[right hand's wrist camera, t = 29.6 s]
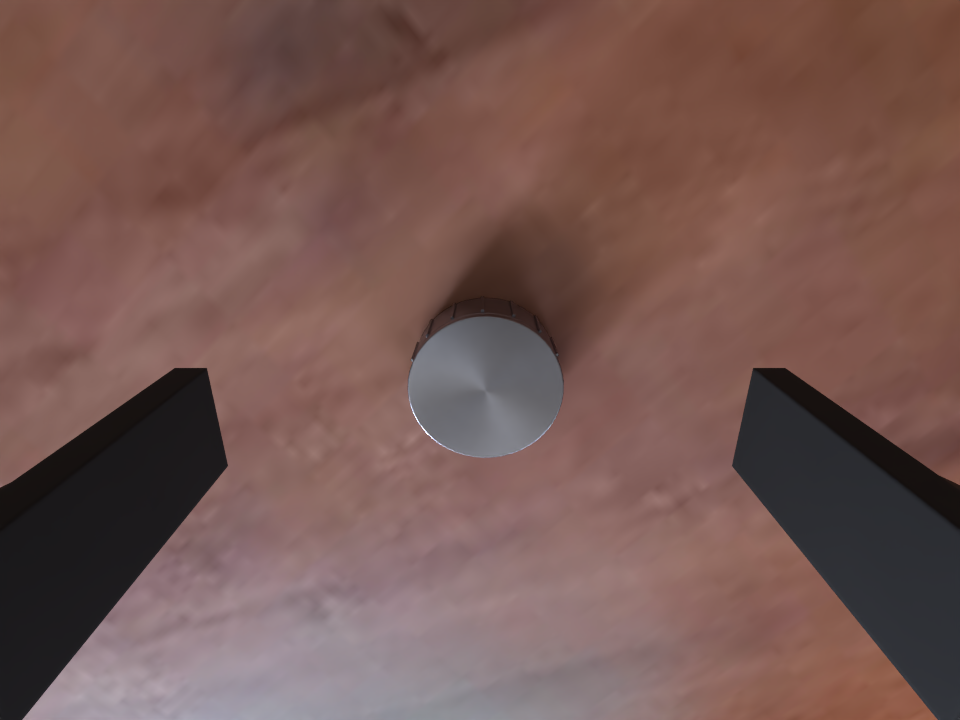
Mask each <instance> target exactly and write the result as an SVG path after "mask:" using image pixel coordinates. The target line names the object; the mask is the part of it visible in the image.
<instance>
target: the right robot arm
mask: <svg viewBox="0 0 960 720" xmlns="http://www.w3.org/2000/svg"><path fill="white" fill-rule="evenodd" d="M227 466H228V464H227V459H226V455H225V450H224V446H223V441H222V436H221V432H220V427H219V422H218V418H217V413H216V409H215V404H214V399H213V395H212V390H211V385H210V381H209V376H208V371H207V368H174V369H173V370H171V371H170V372H169V373H167V374H166V375H164V376H163V377H161V378H160V379H159V380H157V381H156V382H154V383H153V384H151V385H150V386H149V387H147V388H146V389H144V390H143V391H141V392H140V393H139V394H137V395H136V396H134V397H133V398H131V399H130V400H129V401H127V402H126V403H124V404H123V405H121V406H120V407H119V408H117V409H116V410H114V411H113V412H111V413H110V414H109V415H107V416H106V417H104V418H103V419H101V420H100V421H99V422H97V423H96V424H94V425H93V426H91V427H90V428H89V429H87V430H86V431H84V432H83V433H81V434H80V435H78V436H77V437H76V438H74V439H73V440H71V441H70V442H68V443H67V444H66V445H64V446H63V447H61V448H60V449H58V450H57V451H56V452H54V453H53V454H51V455H50V456H48V457H47V458H46V459H44V460H43V461H41V462H40V463H38V464H37V465H36V466H34V467H33V468H31V469H30V470H28V471H27V472H26V473H24V474H23V475H21V476H20V477H18V478H17V479H16V480H14V481H13V482H11V483H9V484H7V485H5V486H3V487H1V488H0V720H22V719H23V718H24V717H25V716H26V714H27V713H28V712H29V711H30V709H31V708H32V707H33V706H34V705H35V703H36V702H37V701H38V700H39V698H40V697H41V696H42V695H43V693H44V692H45V691H46V690H47V688H48V687H49V686H50V685H51V684H52V682H53V681H54V680H55V679H56V677H57V676H58V675H59V674H60V672H61V671H62V670H63V669H64V668H65V666H66V665H67V664H68V663H69V661H70V660H71V659H72V658H73V656H74V655H75V654H76V653H77V651H78V650H79V649H80V648H81V647H82V645H83V644H84V643H85V642H86V640H87V639H88V638H89V637H90V635H91V634H92V633H93V632H94V630H95V629H96V628H97V627H98V626H99V624H100V623H101V622H102V621H103V619H104V618H105V617H106V616H107V614H108V613H109V612H110V611H111V610H112V608H113V607H114V606H115V605H116V603H117V602H118V601H119V600H120V598H121V597H122V596H123V595H124V593H125V592H126V591H127V590H128V589H129V587H130V586H131V585H132V584H133V582H134V581H135V580H136V579H137V577H138V576H139V575H140V574H141V573H142V571H143V570H144V569H145V568H146V566H147V565H148V564H149V563H150V561H151V560H152V559H153V558H154V556H155V555H156V554H157V553H158V552H159V550H160V549H161V548H162V547H163V545H164V544H165V543H166V542H167V540H168V539H169V538H170V537H171V536H172V534H173V533H174V532H175V531H176V529H177V528H178V527H179V526H180V524H181V523H182V522H183V521H184V519H185V518H186V517H187V516H188V515H189V513H190V512H191V511H192V510H193V508H194V507H195V506H196V505H197V503H198V502H199V501H200V500H201V498H202V497H203V496H204V495H205V494H206V492H207V491H208V490H209V489H210V487H211V486H212V485H213V484H214V482H215V481H216V480H217V479H218V478H219V476H220V475H221V474H222V473H223V471H224V470H225V469H226V468H227ZM732 466H733V468H734V469H735V470H736V471H737V473H738V474H739V475H740V476H741V478H742V479H743V480H744V481H745V482H746V484H747V485H748V486H749V487H750V489H751V490H752V491H753V492H754V494H755V495H756V496H757V497H758V498H759V500H760V501H761V502H762V503H763V505H764V506H765V507H766V508H767V510H768V511H769V512H770V513H771V515H772V516H773V517H774V518H775V519H776V521H777V522H778V523H779V524H780V526H781V527H782V528H783V529H784V531H785V532H786V533H787V534H788V536H789V537H790V538H791V539H792V540H793V542H794V543H795V544H796V545H797V547H798V548H799V549H800V550H801V552H802V553H803V554H804V555H805V556H806V558H807V559H808V560H809V561H810V563H811V564H812V565H813V566H814V568H815V569H816V570H817V571H818V573H819V574H820V575H821V576H822V577H823V579H824V580H825V581H826V582H827V584H828V585H829V586H830V587H831V589H832V590H833V591H834V592H835V593H836V595H837V596H838V597H839V598H840V600H841V601H842V602H843V603H844V605H845V606H846V607H847V608H848V610H849V611H850V612H851V613H852V614H853V616H854V617H855V618H856V619H857V621H858V622H859V623H860V624H861V626H862V627H863V628H864V629H865V630H866V632H867V633H868V634H869V635H870V637H871V638H872V639H873V640H874V642H875V643H876V644H877V645H878V647H879V648H880V649H881V650H882V651H883V653H884V654H885V655H886V656H887V658H888V659H889V660H890V661H891V663H892V664H893V665H894V666H895V668H896V669H897V670H898V671H899V672H900V674H901V675H902V676H903V677H904V679H905V680H906V681H907V682H908V684H909V685H910V686H911V687H912V688H913V690H914V691H915V692H916V693H917V695H918V696H919V697H920V698H921V700H922V701H923V702H924V703H925V705H926V706H927V707H928V708H929V709H930V711H931V712H932V713H933V714H934V716H935V717H936V718H937V719H938V720H960V485H958V484H956V483H954V482H952V481H950V480H947V479H945V478H943V477H941V476H939V475H937V474H936V473H934V472H933V471H932V470H930V469H929V468H927V467H926V466H924V465H923V464H922V463H920V462H919V461H917V460H916V459H914V458H913V457H912V456H910V455H909V454H907V453H906V452H904V451H903V450H902V449H900V448H899V447H897V446H896V445H894V444H893V443H892V442H890V441H889V440H887V439H886V438H884V437H883V436H882V435H880V434H879V433H877V432H876V431H874V430H873V429H871V428H870V427H869V426H867V425H866V424H864V423H863V422H861V421H860V420H859V419H857V418H856V417H854V416H853V415H851V414H850V413H849V412H847V411H846V410H844V409H843V408H841V407H840V406H839V405H837V404H836V403H834V402H833V401H831V400H830V399H829V398H827V397H826V396H824V395H823V394H821V393H820V392H819V391H817V390H816V389H814V388H813V387H811V386H810V385H809V384H807V383H806V382H804V381H803V380H801V379H800V378H799V377H797V376H796V375H794V374H793V373H791V372H790V371H789V370H787V369H786V368H753V371H752V376H751V381H750V385H749V390H748V395H747V399H746V404H745V408H744V413H743V418H742V422H741V427H740V432H739V436H738V441H737V446H736V450H735V455H734V459H733V464H732Z"/></svg>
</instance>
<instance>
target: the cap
mask: <svg viewBox="0 0 960 720" xmlns="http://www.w3.org/2000/svg"><path fill="white" fill-rule="evenodd" d="M557 356H559V355H558V352H557V349H556V347H555V344H554V341H553V339H552V337H549V335H548V333H547V332H546V330H545V328H544V327H543V325H542V324H541V323H540V322H539V321H538V318H537V316H536V315H535V316H533V315H532V314H531V313H529V312H528V311H527V310H525V309H524V308H522V307H520V306H518V305H516V304H514V303H513V301H510V302H508V301H505V300H500V299H493V298H484V296H483V297H481V298H477V299H471V300H467V301H463V302H460V303H458V304H456V303H453V306H451V307H449V308H448V309H446V310H444V311H443V312H442V313H440V314H439V315H438V316H437V317H436V318H435V319H434V320H433V319H431V320H430V323H429V326H428V327H427V328H426V330H425V331H424V333H423V335H422V337H421V339H420V342H417V344H416V347H415V350H414V353H413V355H412V358H411V361H412V362H413V363H412V365H411V368H410V372H409V378H408V396H409V401H410V405H411V408H412V411H413V413H414V416H415V417H416V419H417V421H418V423H419V424H420V425H421V427H422V428H423V429H424V431H425V432H426V433H427V434H428V435H429V436H430V437H431V438H433V439H434V440H435V441H436V442H438V443H439V444H441V445H442V446H444V447H446V448H448V449H450V450H452V451H454V452H457V453H460V454H463V455H467V456H472V457H482V458H486V457H499V456H504V455H508V454H512V453H514V452H517V451H520V450H522V449H524V448H525V447H527V446H529V445H531V444H532V443H533V442H535V441H536V440H538V439H539V438H540V437H541V436H542V435H543V434H544V433H545V432H546V431H547V430H548V428H549V427H550V426H551V424H552V423H553V421H554V420H555V418H556V416H557V414H558V412H559V409H560V406H561V403H562V398H563V390H564V380H563V374H562V370H561V367H560V364H559V361H558V358H557Z"/></svg>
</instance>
